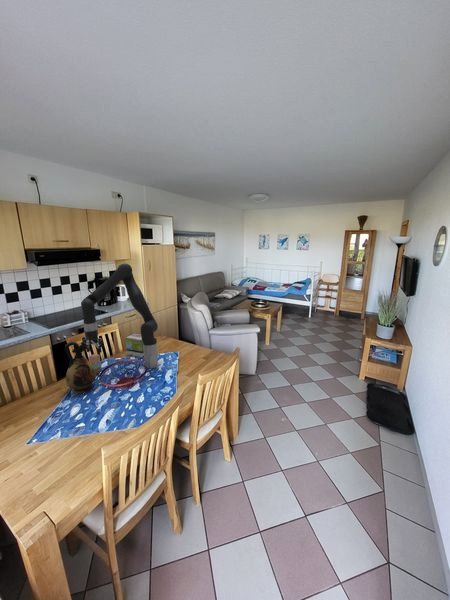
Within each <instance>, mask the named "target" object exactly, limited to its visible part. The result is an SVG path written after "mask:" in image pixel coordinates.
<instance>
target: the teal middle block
mask: <svg viewBox="0 0 450 600" xmlns="http://www.w3.org/2000/svg"><path fill="white" fill-rule="evenodd" d="M91 364H92V365H93V367H94V369H97V368H100V367H101V368H102V362H101V360H100V361H99V362H98V363H96V364H93V363H91Z"/></svg>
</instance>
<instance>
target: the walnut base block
mask: <svg viewBox="0 0 450 600" xmlns="http://www.w3.org/2000/svg"><path fill="white" fill-rule="evenodd" d="M95 372H96V375H99V374H98V373H100V372H102V366H101V367H100V368H97V369H95ZM100 374H101V373H100Z"/></svg>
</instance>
